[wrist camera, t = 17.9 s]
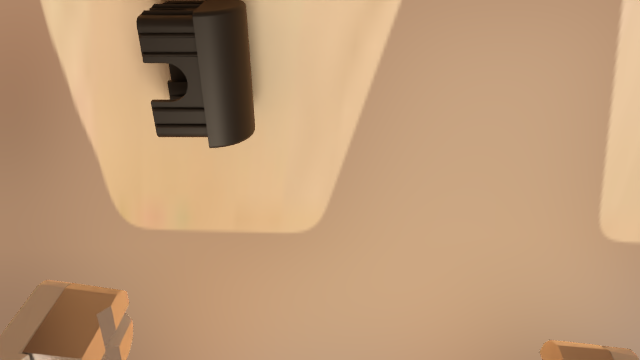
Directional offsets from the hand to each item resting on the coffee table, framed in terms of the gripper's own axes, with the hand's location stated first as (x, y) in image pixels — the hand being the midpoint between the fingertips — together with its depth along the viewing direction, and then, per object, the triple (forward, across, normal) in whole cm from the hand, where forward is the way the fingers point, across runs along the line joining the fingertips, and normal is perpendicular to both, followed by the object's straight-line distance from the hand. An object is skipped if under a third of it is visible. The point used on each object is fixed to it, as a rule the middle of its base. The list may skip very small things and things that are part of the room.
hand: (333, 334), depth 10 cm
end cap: (+33, +10, +7) cm, 35 cm away
